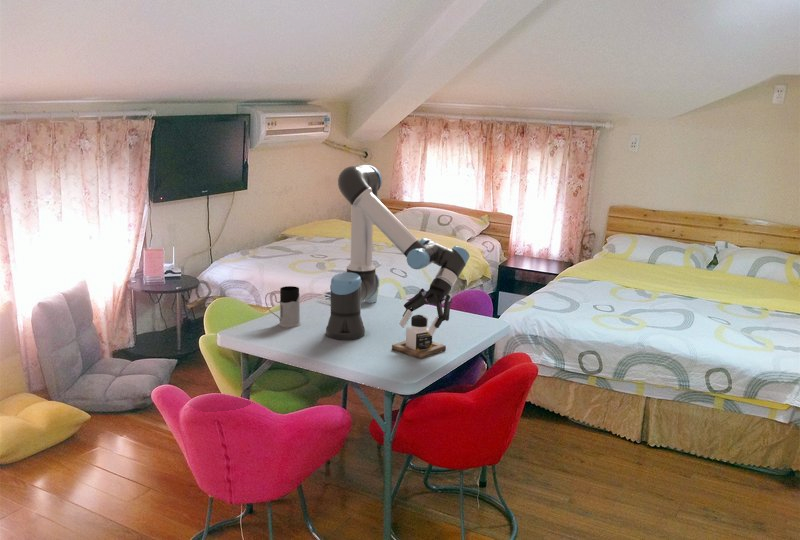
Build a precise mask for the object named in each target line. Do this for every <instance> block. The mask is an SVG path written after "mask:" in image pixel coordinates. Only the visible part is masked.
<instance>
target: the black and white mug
mask: <svg viewBox="0 0 800 540" xmlns="http://www.w3.org/2000/svg"><path fill="white" fill-rule="evenodd" d="M279 289H280V290H279V291H280V292H279V295H280V298H279V299H280V300H279V301H278V300H277V295H276V293H275V292H268V293H266V295H265V297H264V300H265V306H266V309H268V311H269V312H270V313H272V315H274V316H275V317H277V319H279V324H278V325H279V326H280V327H281V326H282V327H283V328H288V327H291V328H298V327H300V326H301V325H302V324H301V321H300V320H301V318H300V317H301V313H300V311H301V310H300V308H301V307H300V306H301V305H300V303H301V302H300V299H301V298H300V296H301V295H300V287H299V286H293V285H292V286H291V285H289V286H288V285H287V286H286V285H285V286H281V287H280V288H279ZM270 294H272V295H274V297H275V299H274V300H275V302H276V303H277V304H279V315H277V314H275V312H273V311H272V310H271V309H270V308H269V306H268V303H267V296H268V295H270Z"/></svg>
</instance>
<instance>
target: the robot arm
mask: <svg viewBox="0 0 800 540" xmlns="http://www.w3.org/2000/svg"><path fill="white" fill-rule="evenodd" d="M382 182H383V179H382V174H381V173H380V171H379V170H378V169H377V167H375V166H373V165H370V164H358V165H351V166H348V167H346V168H344V169H343V170H342V171H340V173H339V175H338V178H337V186H338V189H339V192H340V193H341V194H342V196H343V197H344V198H345V199H346V200H347V202H348V203H350V205H351V208H350V210H351V211H350V213H351V215H350V218H351V220H350V263H349V264H347V266H346V272H342V273H341V272H340V273H337V274H334V275H333V276H332V277H331V280H330V287H329V289H330V316H329V319H328V323H327V325H326V327H325V335H326V336H327V337H329V338H331V339H334V340H339V341H340V340H345V341H349V340H356V339H360V338H363V337H364V336H365V334H366V333H365V331H366V329H365V328H366V327H365V325H364V322H363V318H362V315H361V309H362V308H361V306H362V302H365V300H366V299H368V298H370V297H372V296H373V295H374V294H375V293H376V292H377V290H378V291H379V286H380V278H379V276H378V274H377V273H376V271H377V270H376V266H375V265H374V263H373V232H374V231H373V230H374V229H373V228H374V226H373V225H375V227H377V228H378V230H379V231H381V233H383V235H385V237H386V238H387V239H388V240H389V241H390V242H391V243H392V244H393V246H395V247H396V248H397V249H398V250H399V251H400V252H401V254H403V255H404V256H405V258H406V263H407V265H408V266H409V267H410V268H411V269H413V270H421V269H424V268H427V267H428V266H430V265H431V264H435V265H436V266H439V267H440V268H439V270H438V271H437V273H436V275H435V277H434V279H433V280H432V281H431V283H430V285H429V289H428V290H425V288H421V289H420V290H419V292H418V293H417V294H415V295H414V296H412V298H410V299H409V300H407V302H405V304H403V307H404V308H405V311H404V313H403V314H402V318H401V320H400V321H399V325H400V327H402V328H406V325H407V324H408V322H409V320H410V319H411V318H412V315H413V312H414V311H416V310H418V309H420V308H422V307H423V306H425V305H428V304H429V305H434V306H436V312H437V316H435V318H434V320H433V321H432V323H431V325H430V326H429V327H428V329H429V330H428V331H427V332H428V333H429V335H430V336H432V337H433V335H434V334H435V332H436V330H437V329H439V328H440V326H441V324H442V323H443V322H444V321H447V322H448V321H449V320H450V311H451V303H452V302H453V298H452V297H451V295H449V294H450V292H451V290H452V288H453V287H454V285H455V284H456V282H457V280H458V279H459V277H460V275H461V273H462V272H463V270H464V268H465V267H466V266H467V264H468V261H469V259H470V253H469V251H467V249H466V248H464V247H462V246H458V245H455V246H453V247H452V248H451V249H450V248H448V247H446V246H444V245H441V244H440V243H438V242H435V241H434V240H433V239H429V238H426V237H422V238H421V239H420V240H419V239H418V238H417V237H416V236H415V235H414V234H413V233H412V232H411V231H410V229H408V228H407V227H406V226H405V224H403V223H402V222H401V221H400V220H399V219H398V218H397V217H396V216H395V215H394V214H393V212H391V211H390V209H389V208H388V207H386V205H384V203H383V202H382V201H381V200H380V199H379V198H378V192H379V190H380V189H381V187H382V184H383V183H382ZM443 302H444V304H443Z"/></svg>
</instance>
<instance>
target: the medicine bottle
mask: <svg viewBox="0 0 800 540" xmlns="http://www.w3.org/2000/svg"><path fill="white" fill-rule="evenodd" d="M410 319H411V320H410V321H411V325H410V327H405V328H406V329H405V333H406V334H405V341H406V346H407V347H409V348H411V349H414V350H417V351H422V350H426V349H429V348H432V341H433V336H430V335H429V333H428V332H427V331H428V330H429V325H428V324H429V318H428V316H426V315H424V314H416V315H413V316H412V315H411V317H410Z"/></svg>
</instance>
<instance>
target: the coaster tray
mask: <svg viewBox="0 0 800 540" xmlns="http://www.w3.org/2000/svg"><path fill="white" fill-rule="evenodd" d="M446 349H447V345H445V344H443V343H439V342H435V341H433V340H432V348H429V349H426V350H422V351H417V350H414V349H411V348H409V347H407V346H406V340H403V341H400V342H396V343H393V344H392V345H391V350H393V351H396V352H398V353H402V354H404V355H408V356H410V357H413V358H417V359H419V360H422V359H424V358H427V357H431V356H434V355H436V354H439V353H441V351H442V352H445V351H446ZM444 350H445V351H444Z"/></svg>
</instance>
